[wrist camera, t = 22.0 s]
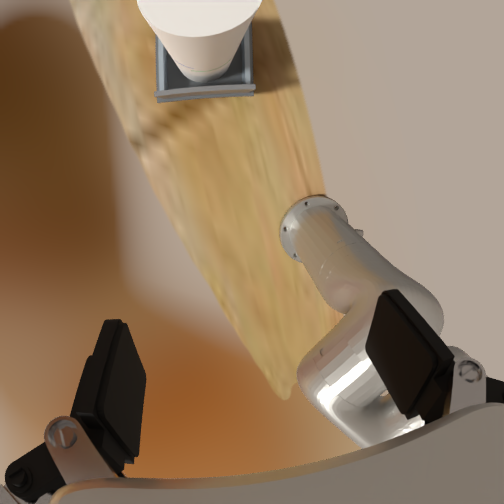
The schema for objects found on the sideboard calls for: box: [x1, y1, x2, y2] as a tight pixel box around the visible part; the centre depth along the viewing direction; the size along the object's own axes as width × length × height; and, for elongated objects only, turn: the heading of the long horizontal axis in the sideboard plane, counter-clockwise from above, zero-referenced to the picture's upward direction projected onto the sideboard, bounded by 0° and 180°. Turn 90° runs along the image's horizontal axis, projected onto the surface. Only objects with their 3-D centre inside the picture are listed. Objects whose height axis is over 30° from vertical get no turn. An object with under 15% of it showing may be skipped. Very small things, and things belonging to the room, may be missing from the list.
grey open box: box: [154, 21, 256, 103], centre depth 31 cm, size 12×13×12 cm
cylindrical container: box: [137, 0, 262, 83], centre depth 22 cm, size 7×7×25 cm
